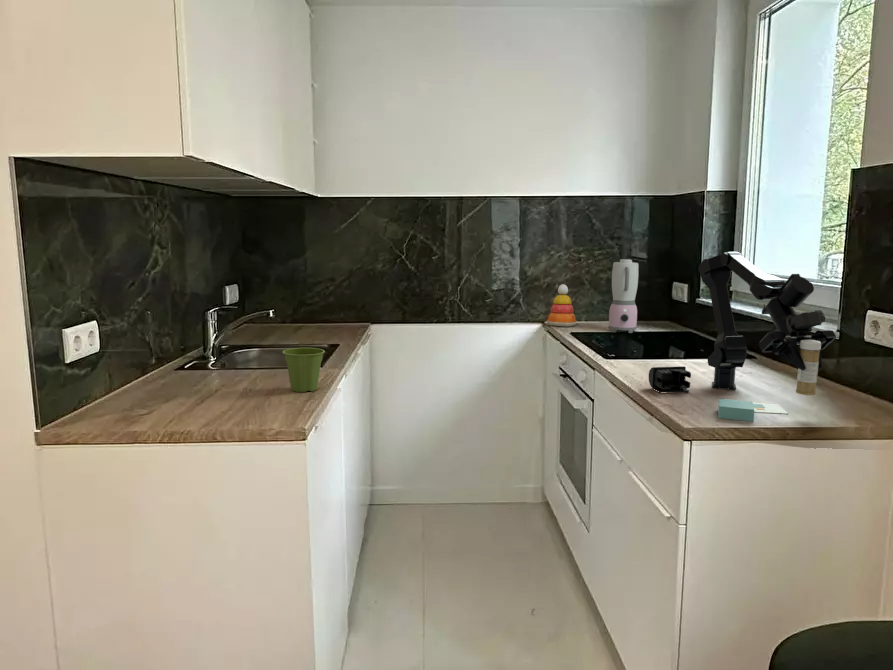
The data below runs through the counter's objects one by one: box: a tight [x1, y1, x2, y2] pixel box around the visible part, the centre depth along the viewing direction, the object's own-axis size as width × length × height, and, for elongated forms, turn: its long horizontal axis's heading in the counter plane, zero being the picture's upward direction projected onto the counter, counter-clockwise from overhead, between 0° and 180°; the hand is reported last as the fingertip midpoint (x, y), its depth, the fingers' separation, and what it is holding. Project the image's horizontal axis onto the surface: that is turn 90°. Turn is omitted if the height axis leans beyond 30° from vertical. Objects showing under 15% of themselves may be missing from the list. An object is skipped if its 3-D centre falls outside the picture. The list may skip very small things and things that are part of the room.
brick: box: [717, 398, 755, 422], centre depth 171 cm, size 8×8×3 cm
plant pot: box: [282, 347, 326, 393], centre depth 193 cm, size 12×12×11 cm
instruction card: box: [753, 402, 789, 415], centre depth 178 cm, size 9×12×1 cm
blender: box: [608, 258, 639, 334], centre depth 302 cm, size 16×12×32 cm
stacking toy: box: [546, 283, 578, 328], centre depth 319 cm, size 14×14×20 cm
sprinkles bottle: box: [795, 340, 821, 396], centre depth 168 cm, size 5×5×14 cm
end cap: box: [648, 366, 692, 393], centre depth 197 cm, size 10×7×7 cm
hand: (812, 369), depth 167 cm, fingers closed on sprinkles bottle, 4 cm apart
